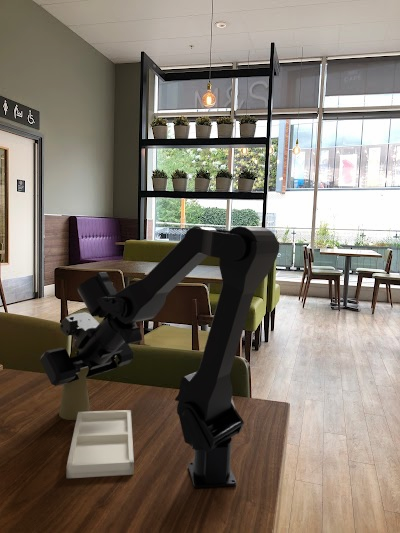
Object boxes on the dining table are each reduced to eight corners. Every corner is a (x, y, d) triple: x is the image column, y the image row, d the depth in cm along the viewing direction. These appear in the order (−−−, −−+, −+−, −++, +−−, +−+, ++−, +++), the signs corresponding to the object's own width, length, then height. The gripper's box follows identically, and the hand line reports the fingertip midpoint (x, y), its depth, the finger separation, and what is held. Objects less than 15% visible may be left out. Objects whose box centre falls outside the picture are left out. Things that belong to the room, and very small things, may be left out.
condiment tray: (133, 474, 69) (133, 462, 69) (66, 478, 67) (66, 465, 67) (130, 419, 88) (130, 410, 88) (78, 421, 86) (78, 411, 86)
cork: (85, 420, 87) (86, 365, 86) (54, 419, 87) (55, 364, 86) (93, 407, 93) (94, 356, 92) (64, 406, 93) (65, 355, 92)
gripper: (125, 296, 93) (90, 338, 100) (46, 307, 78) (12, 356, 86) (151, 340, 89) (113, 381, 96) (74, 361, 74) (35, 407, 82)
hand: (70, 379), depth 90 cm, fingers open, 5 cm apart
